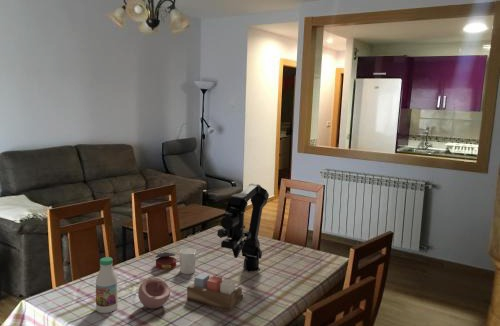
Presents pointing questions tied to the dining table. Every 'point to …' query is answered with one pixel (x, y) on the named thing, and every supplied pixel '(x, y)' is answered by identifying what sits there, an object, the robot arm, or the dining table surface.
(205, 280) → the grey rectangular block
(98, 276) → the milk bottle
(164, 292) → the pink round pot
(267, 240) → the dining table surface
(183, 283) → the dining table surface
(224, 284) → the white key
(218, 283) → the red key
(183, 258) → the white cup
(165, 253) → the canned food
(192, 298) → the key console
